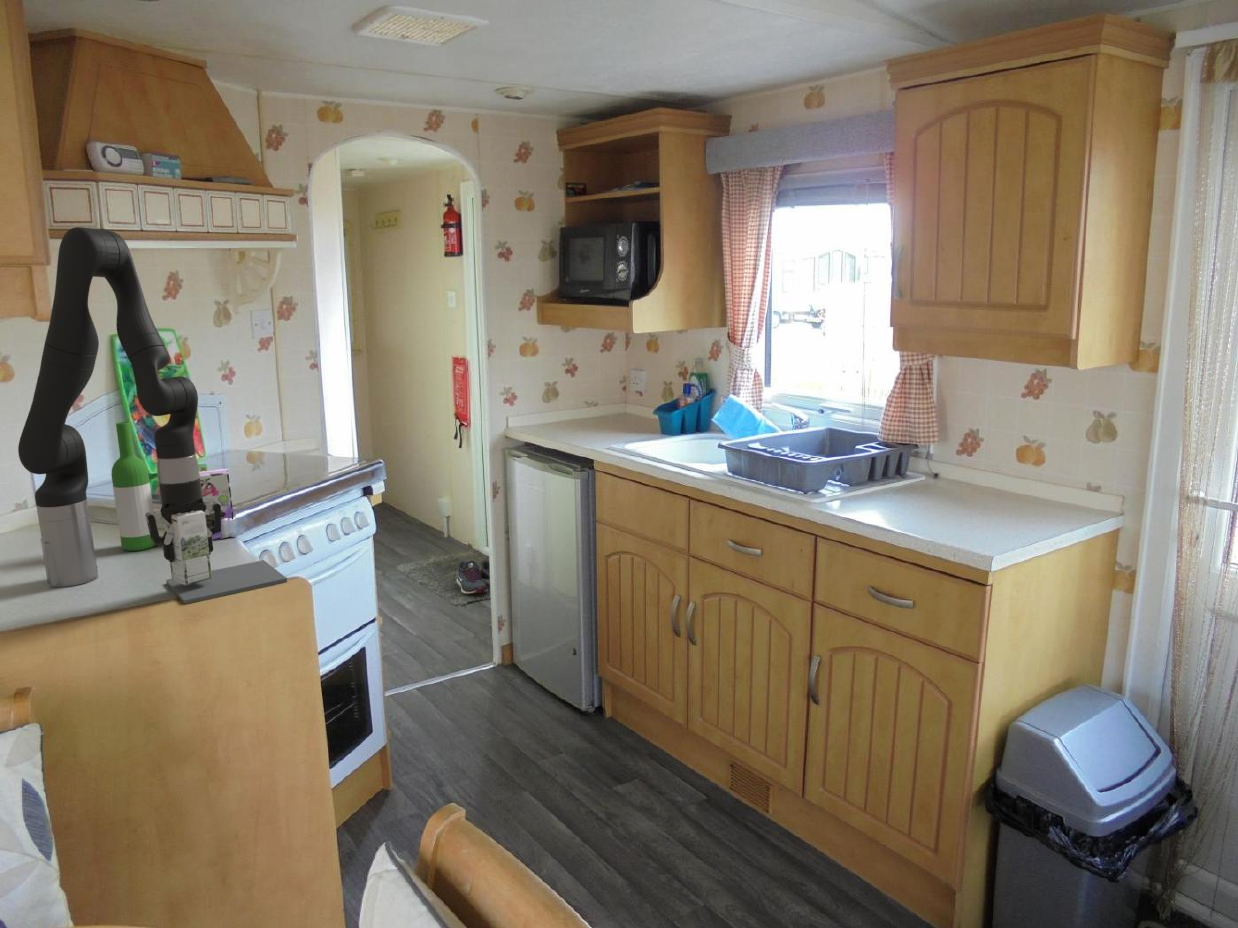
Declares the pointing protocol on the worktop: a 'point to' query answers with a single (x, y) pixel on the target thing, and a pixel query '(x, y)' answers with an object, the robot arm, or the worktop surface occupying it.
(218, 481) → the candy box
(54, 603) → the worktop surface
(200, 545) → the syrup box
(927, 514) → the worktop surface
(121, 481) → the wine bottle
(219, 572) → the mat
